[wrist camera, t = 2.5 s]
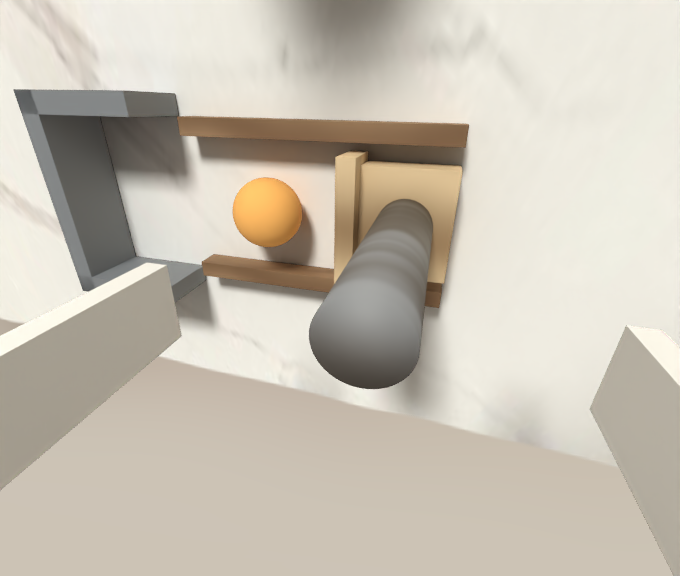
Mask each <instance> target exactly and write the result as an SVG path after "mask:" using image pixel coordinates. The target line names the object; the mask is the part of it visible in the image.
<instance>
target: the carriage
mask: <svg viewBox="0 0 680 576" xmlns="http://www.w3.org/2000/svg"><path fill="white" fill-rule="evenodd" d="M462 172H463V171H462V167H461V166H457V165H439V164H420V163H401V162H382V161H368V151H353V150H351V151H348V152H346V153H344V154H341V155H339V156H337V157H335V246H334V285H333V287H332V289H331V290H330V292H329V293H328V295H327V296H326V298H325V300H324V301H323V303H322V304H321V306H320V307H319V309H318V311H317V312H316V314H315V315H314V317H313V319H312V322H311V324H310V329H309V341H310V345H311V349H312V351H313V354H314V356H315V357H316V359H317V361H318V362H319V363H320V365H321V366H322V367H323V368H324V369H325V370H326V371H327V372H328V373H329V374H331V375H332V376H333V377H335V378H336V379H338V380H340V381H342V382H344V383H346V384H349V385H351V386H355V387H359V388H365V389H381V388H386V387H390V386H393V385H395V384H397V383H399V382H401V381H402V380H404V379H405V378H406V377H407V376H409V374H410V373H411V372H412V371H413V369H414V368H415V366H416V364H417V361H418V358H419V352H420V343H421V334H422V325H423V315H424V306H425V297H426V288H427V282H435V283H443V284H444V280H445V274H446V268H447V262H448V256H449V250H450V244H451V238H452V232H453V226H454V220H455V214H456V208H457V202H458V196H459V190H460V184H461V178H462Z"/></svg>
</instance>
